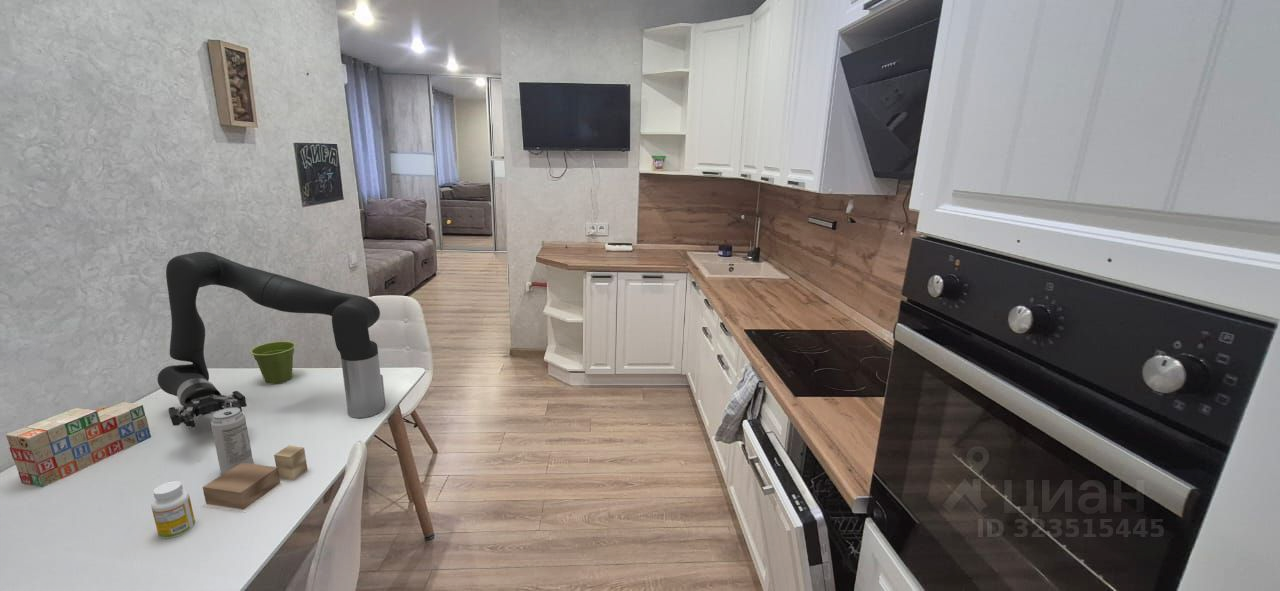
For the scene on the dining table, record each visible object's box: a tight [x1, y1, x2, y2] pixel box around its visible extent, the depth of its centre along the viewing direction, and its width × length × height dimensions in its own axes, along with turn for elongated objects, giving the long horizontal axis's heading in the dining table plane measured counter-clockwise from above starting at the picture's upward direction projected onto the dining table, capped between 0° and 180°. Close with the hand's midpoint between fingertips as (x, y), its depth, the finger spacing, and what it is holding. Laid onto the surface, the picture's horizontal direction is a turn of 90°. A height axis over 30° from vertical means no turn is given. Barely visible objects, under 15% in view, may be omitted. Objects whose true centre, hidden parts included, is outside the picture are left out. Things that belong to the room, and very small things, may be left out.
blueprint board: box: [202, 480, 287, 513], centre depth 111 cm, size 16×11×1 cm
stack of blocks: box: [5, 401, 152, 488], centre depth 119 cm, size 21×6×12 cm, turn 169°
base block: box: [202, 463, 281, 509], centre depth 109 cm, size 9×9×4 cm
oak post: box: [273, 444, 308, 481], centre depth 116 cm, size 4×4×6 cm
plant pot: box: [249, 340, 297, 385], centre depth 163 cm, size 12×12×11 cm
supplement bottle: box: [151, 480, 196, 539], centre depth 98 cm, size 5×5×10 cm
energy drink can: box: [210, 407, 255, 475], centre depth 116 cm, size 6×6×15 cm
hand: (216, 417), depth 122 cm, fingers open, 8 cm apart
